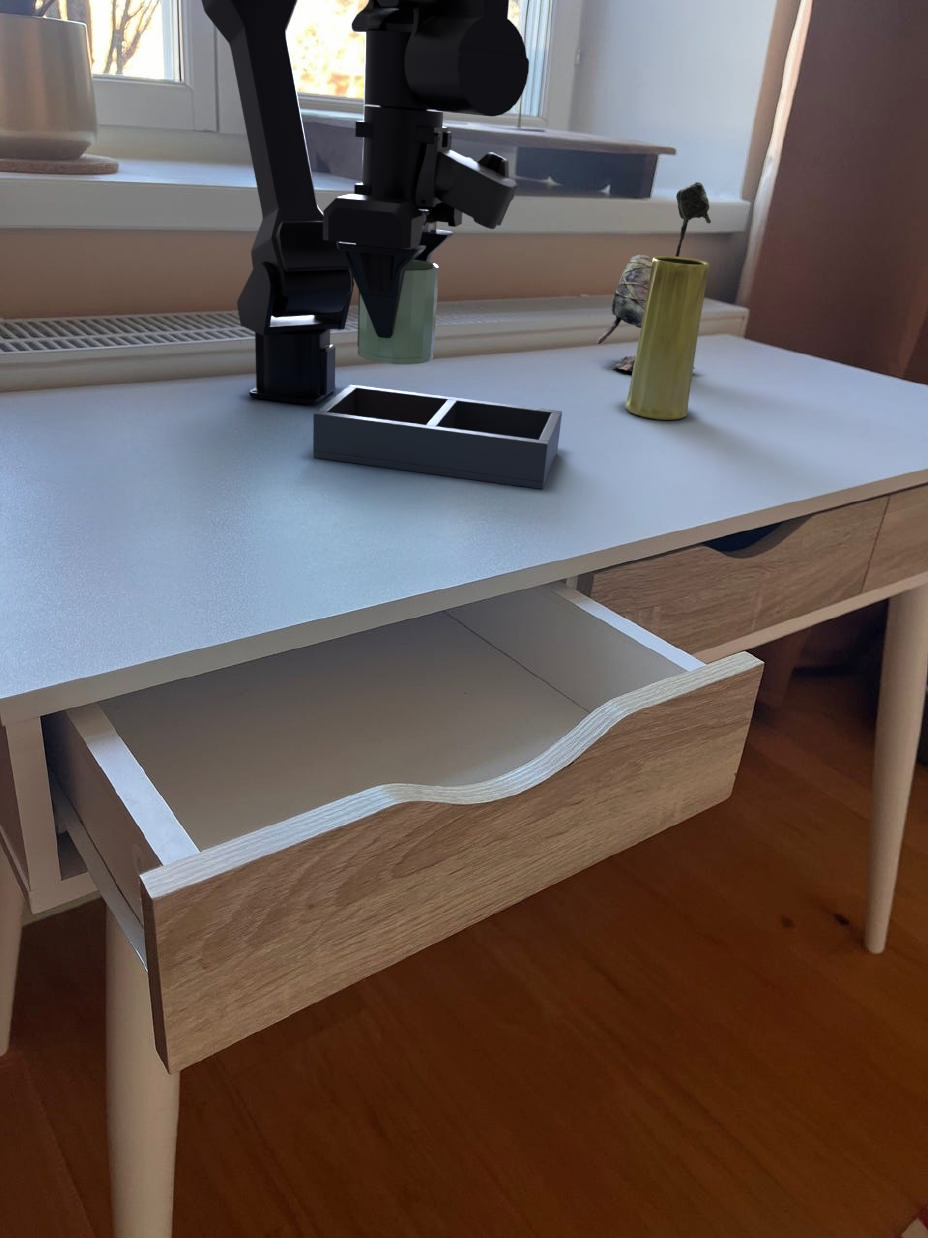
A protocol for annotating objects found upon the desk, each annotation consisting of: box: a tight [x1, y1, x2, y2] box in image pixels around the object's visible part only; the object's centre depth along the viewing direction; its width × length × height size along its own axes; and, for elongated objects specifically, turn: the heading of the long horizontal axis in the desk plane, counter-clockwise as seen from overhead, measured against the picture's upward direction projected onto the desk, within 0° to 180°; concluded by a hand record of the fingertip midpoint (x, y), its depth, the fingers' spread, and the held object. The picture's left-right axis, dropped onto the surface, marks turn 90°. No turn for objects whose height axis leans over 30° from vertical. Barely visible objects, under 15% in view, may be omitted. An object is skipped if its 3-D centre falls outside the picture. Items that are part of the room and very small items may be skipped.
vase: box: [624, 255, 710, 421], centre depth 96 cm, size 6×6×14 cm
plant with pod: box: [596, 181, 712, 372], centre depth 110 cm, size 8×11×20 cm
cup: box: [357, 260, 440, 365], centre depth 78 cm, size 6×6×7 cm
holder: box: [312, 384, 563, 490], centre depth 81 cm, size 10×18×4 cm, turn 78°
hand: (395, 329), depth 79 cm, fingers closed on cup, 6 cm apart
